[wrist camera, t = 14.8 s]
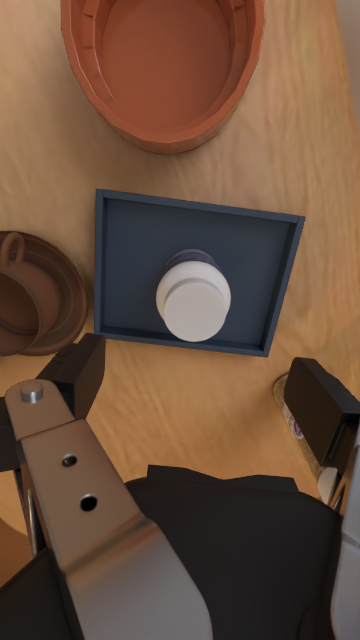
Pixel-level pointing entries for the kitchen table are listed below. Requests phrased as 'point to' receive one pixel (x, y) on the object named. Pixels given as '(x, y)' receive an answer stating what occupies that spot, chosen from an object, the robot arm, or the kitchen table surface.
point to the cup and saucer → (38, 296)
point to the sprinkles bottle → (305, 444)
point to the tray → (181, 234)
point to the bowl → (164, 64)
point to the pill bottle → (193, 296)
